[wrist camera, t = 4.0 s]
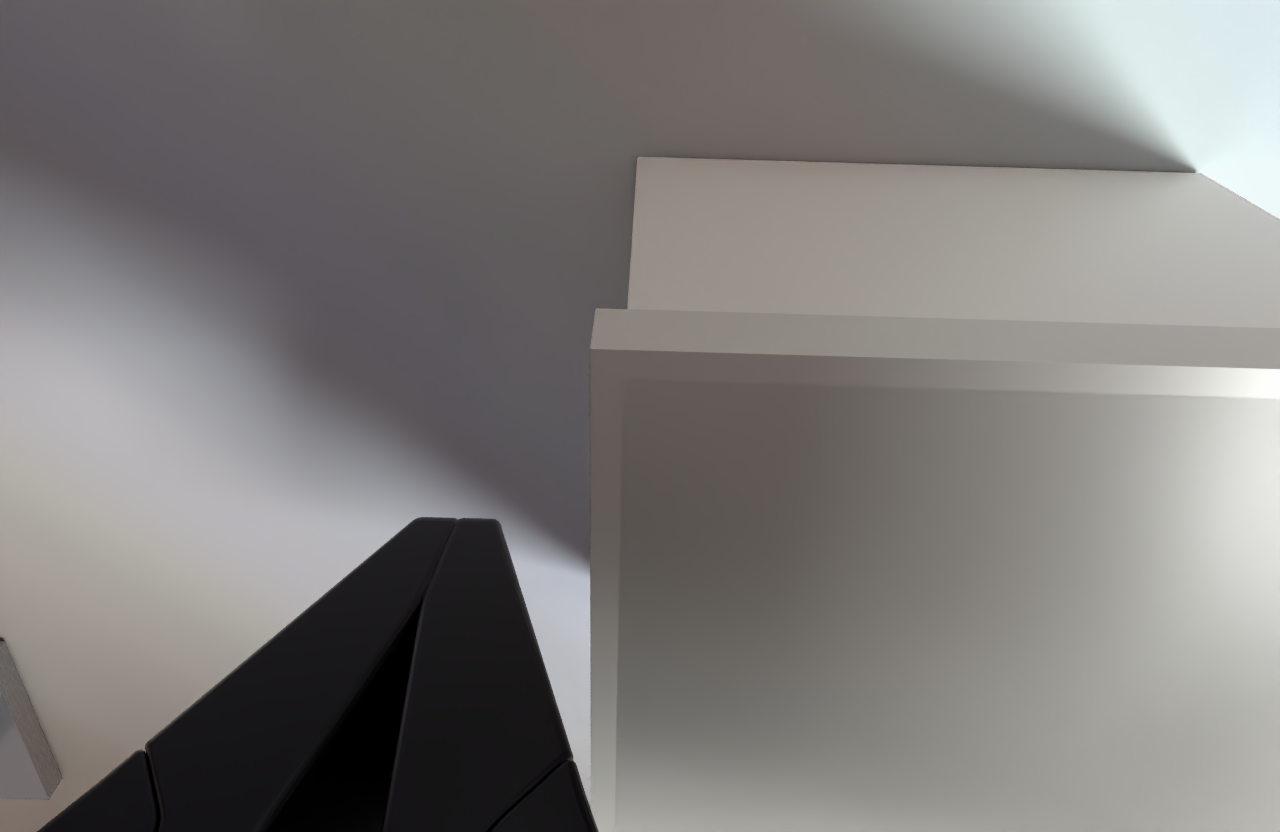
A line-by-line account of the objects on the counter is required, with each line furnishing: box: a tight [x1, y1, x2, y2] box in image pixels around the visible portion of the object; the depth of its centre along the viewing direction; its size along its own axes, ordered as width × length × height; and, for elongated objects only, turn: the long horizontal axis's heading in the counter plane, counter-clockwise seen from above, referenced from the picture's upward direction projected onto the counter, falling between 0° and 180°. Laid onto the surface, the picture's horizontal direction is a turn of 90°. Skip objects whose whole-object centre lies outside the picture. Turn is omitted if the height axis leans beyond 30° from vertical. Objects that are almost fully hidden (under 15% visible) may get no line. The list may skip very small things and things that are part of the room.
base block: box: [590, 157, 1280, 832], centre depth 10 cm, size 6×6×5 cm
